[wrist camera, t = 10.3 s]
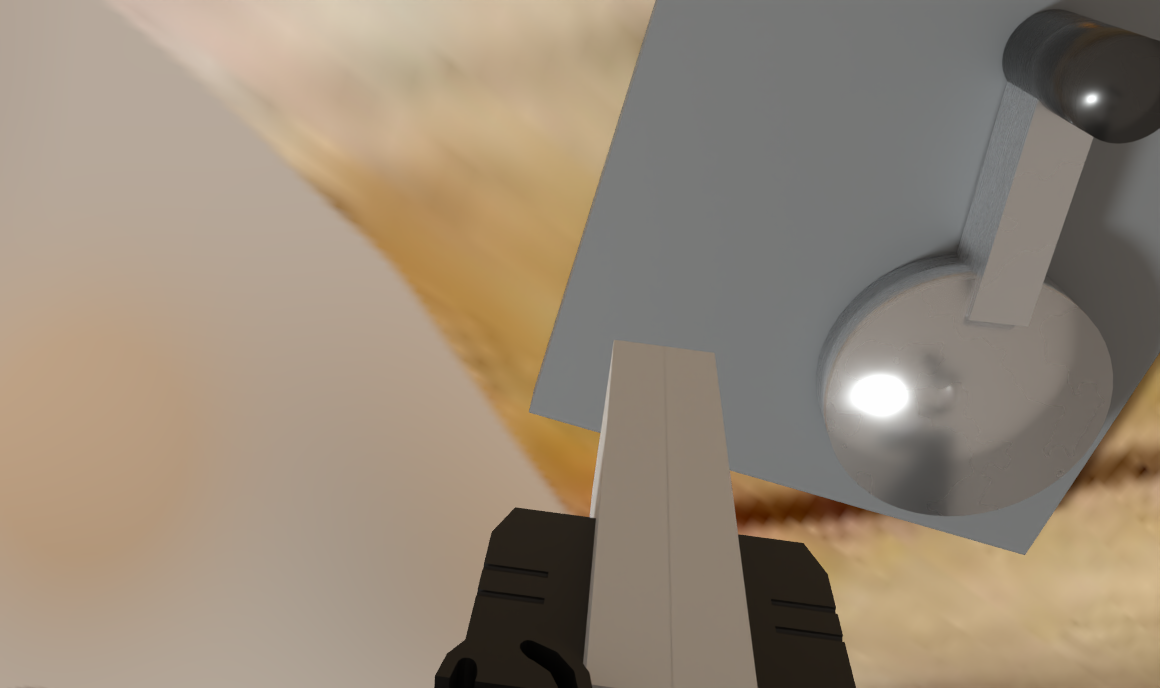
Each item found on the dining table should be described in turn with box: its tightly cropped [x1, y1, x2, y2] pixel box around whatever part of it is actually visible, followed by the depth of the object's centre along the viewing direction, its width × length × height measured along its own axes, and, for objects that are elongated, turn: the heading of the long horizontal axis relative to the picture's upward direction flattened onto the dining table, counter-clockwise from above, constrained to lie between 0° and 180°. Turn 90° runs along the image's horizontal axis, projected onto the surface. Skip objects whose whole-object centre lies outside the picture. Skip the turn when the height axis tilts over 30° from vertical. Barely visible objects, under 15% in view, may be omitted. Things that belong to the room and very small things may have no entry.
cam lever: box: [816, 9, 1160, 516], centre depth 31 cm, size 18×10×6 cm, turn 175°
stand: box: [529, 0, 1160, 555], centre depth 34 cm, size 25×22×2 cm
